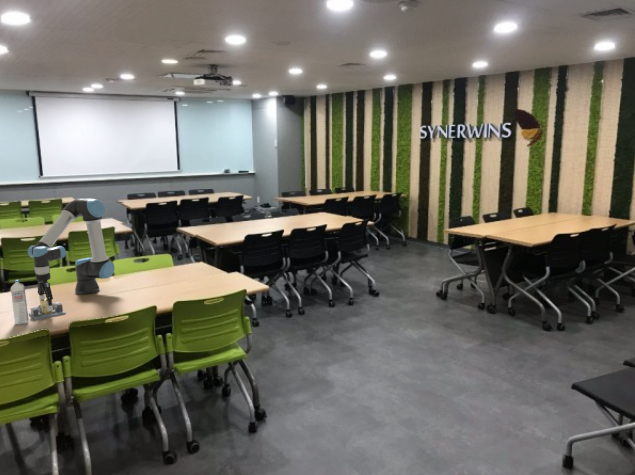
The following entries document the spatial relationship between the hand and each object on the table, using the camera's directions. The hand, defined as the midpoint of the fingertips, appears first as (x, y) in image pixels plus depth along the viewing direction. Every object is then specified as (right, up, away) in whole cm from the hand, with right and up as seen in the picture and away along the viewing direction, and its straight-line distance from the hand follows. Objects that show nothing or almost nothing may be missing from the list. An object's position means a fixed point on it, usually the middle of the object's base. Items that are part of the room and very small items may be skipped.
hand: (46, 308), depth 298 cm
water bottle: (-6, -7, -14) cm, 17 cm away
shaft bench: (0, -4, +1) cm, 4 cm away
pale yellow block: (0, -3, 0) cm, 3 cm away
